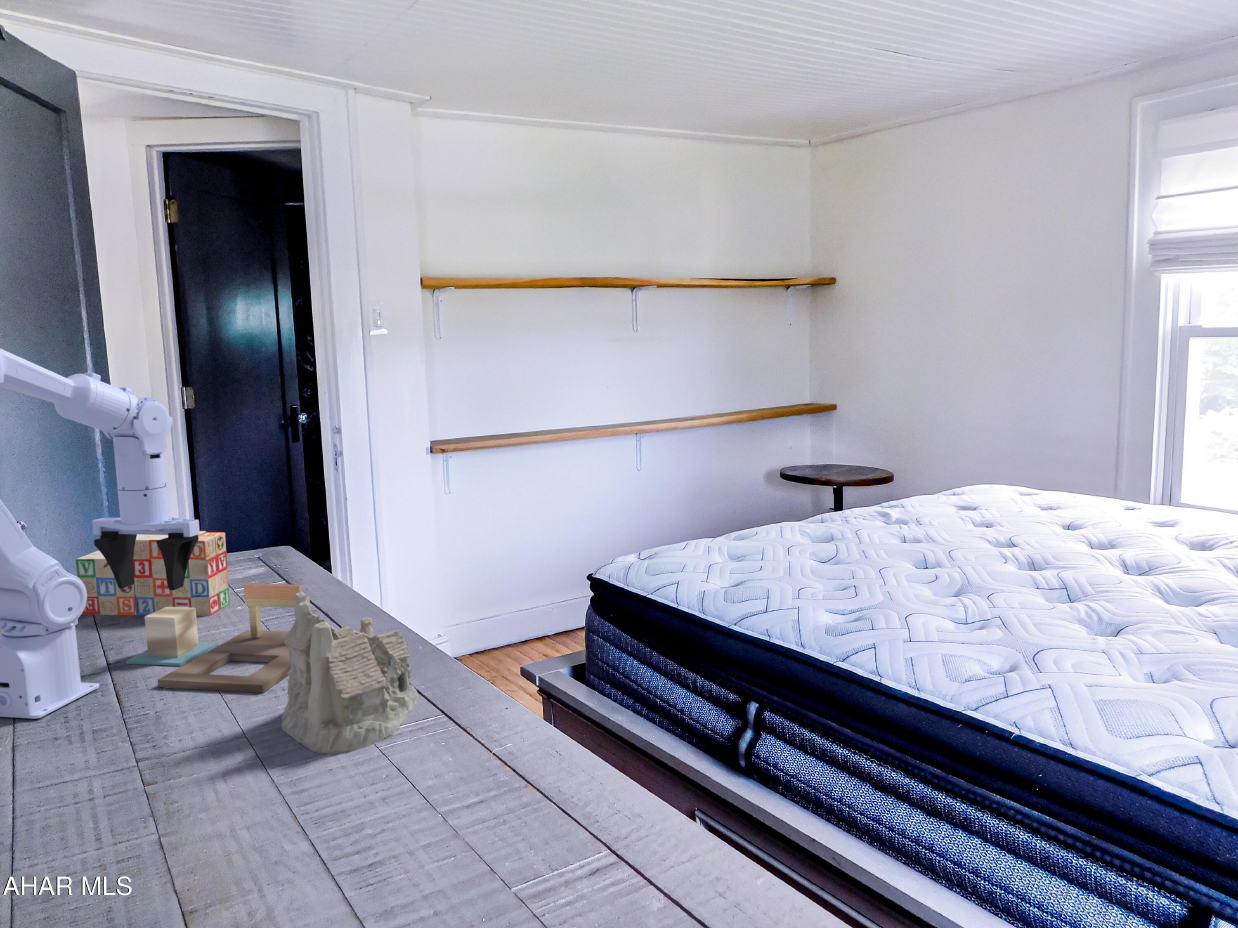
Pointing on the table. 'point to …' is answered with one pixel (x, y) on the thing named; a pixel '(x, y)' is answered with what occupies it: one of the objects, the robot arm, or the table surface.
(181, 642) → the birch block
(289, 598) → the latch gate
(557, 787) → the table surface
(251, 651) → the puzzle board
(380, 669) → the ceramic cottage
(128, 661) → the teal square plate
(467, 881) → the table surface
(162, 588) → the stack of blocks
